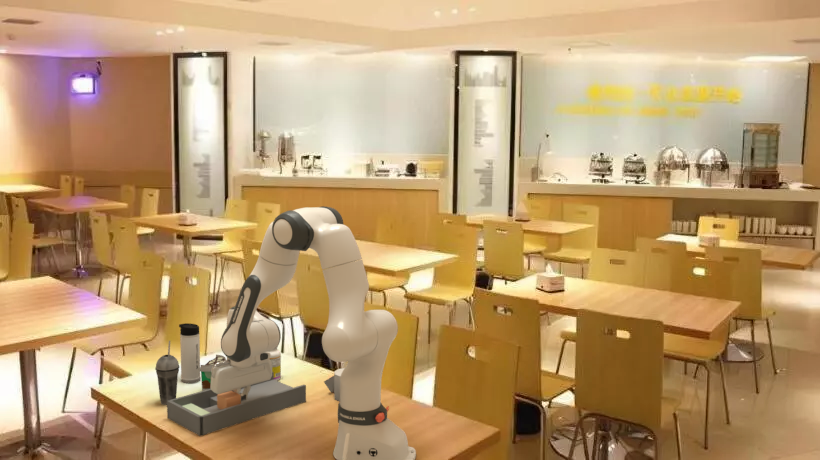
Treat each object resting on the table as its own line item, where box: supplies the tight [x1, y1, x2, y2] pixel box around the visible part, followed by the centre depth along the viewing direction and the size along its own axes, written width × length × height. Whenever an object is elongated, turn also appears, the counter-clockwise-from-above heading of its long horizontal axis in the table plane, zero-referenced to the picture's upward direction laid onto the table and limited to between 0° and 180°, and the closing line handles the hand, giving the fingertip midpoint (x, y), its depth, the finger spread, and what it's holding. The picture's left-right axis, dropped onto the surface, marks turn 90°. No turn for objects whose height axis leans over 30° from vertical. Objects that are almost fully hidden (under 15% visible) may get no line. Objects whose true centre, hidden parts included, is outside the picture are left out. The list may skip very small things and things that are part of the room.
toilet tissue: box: [323, 367, 345, 403], centre depth 250 cm, size 9×13×9 cm
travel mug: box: [178, 322, 201, 384], centre depth 261 cm, size 6×7×20 cm
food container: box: [200, 354, 227, 391], centre depth 255 cm, size 12×6×10 cm, turn 168°
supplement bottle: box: [268, 345, 282, 382], centre depth 265 cm, size 7×7×13 cm
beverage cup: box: [154, 340, 180, 406], centre depth 241 cm, size 7×7×20 cm
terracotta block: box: [217, 391, 241, 410], centre depth 231 cm, size 5×5×4 cm
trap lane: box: [166, 372, 307, 437], centre depth 238 cm, size 38×18×6 cm, turn 137°
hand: (242, 400), depth 235 cm, fingers closed
